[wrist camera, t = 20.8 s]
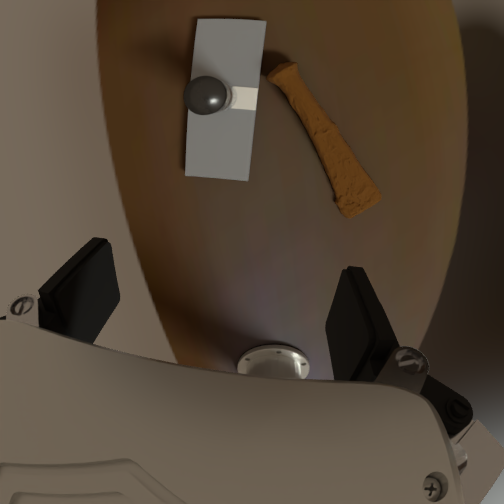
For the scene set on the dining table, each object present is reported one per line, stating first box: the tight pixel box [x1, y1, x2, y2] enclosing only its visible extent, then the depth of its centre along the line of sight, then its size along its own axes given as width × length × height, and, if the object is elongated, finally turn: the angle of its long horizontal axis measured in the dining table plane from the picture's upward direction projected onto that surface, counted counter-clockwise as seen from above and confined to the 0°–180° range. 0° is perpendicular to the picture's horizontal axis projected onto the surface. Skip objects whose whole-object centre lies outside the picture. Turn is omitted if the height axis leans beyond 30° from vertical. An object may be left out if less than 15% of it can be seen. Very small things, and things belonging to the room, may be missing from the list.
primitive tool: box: [266, 62, 381, 218], centre depth 27 cm, size 19×6×4 cm, turn 37°
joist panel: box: [185, 19, 266, 181], centre depth 26 cm, size 18×7×1 cm, turn 174°
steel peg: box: [184, 76, 237, 115], centre depth 22 cm, size 3×3×8 cm
